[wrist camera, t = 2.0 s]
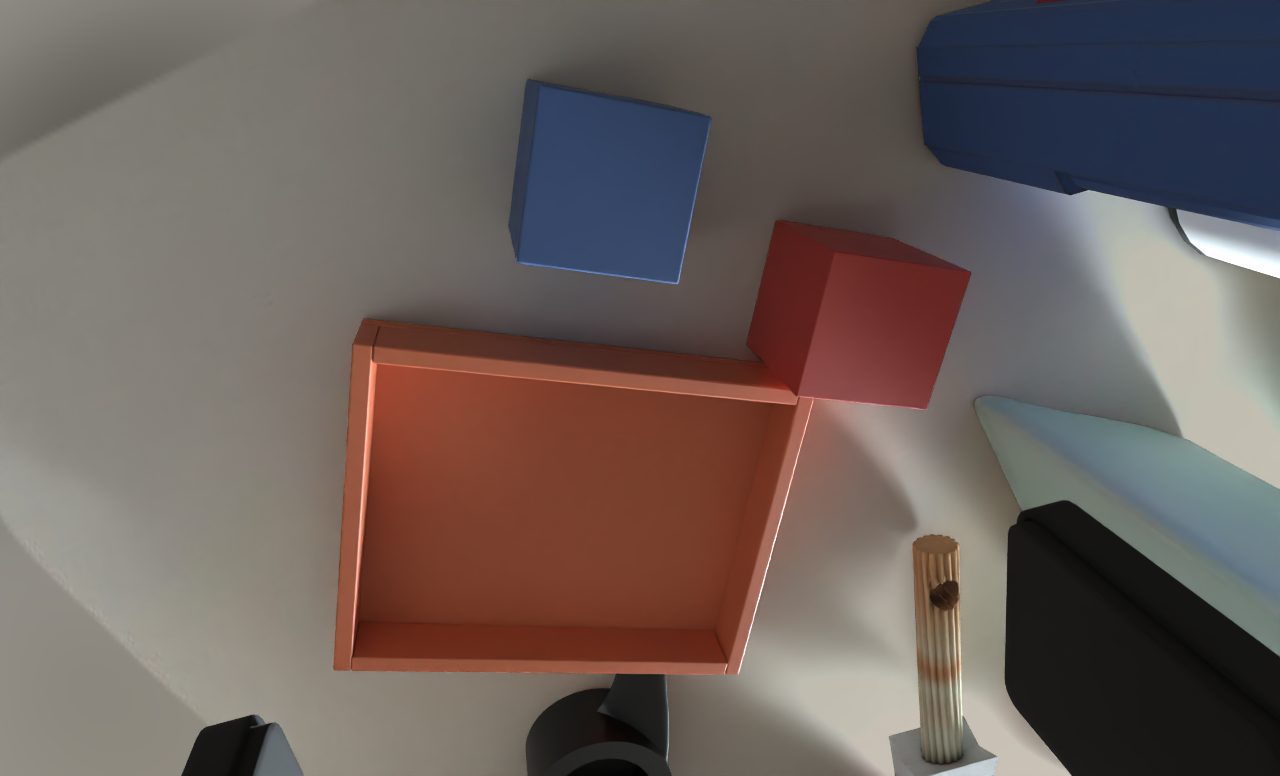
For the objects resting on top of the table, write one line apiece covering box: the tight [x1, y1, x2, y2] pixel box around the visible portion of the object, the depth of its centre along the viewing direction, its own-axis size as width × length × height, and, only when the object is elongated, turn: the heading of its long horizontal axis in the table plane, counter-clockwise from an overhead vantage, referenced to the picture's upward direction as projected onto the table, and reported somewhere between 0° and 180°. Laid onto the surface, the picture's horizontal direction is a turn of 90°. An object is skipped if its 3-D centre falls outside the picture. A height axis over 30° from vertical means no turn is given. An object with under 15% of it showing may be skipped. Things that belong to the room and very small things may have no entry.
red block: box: [747, 220, 971, 410], centre depth 27 cm, size 5×5×5 cm
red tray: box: [333, 319, 814, 675], centre depth 29 cm, size 15×12×3 cm
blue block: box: [508, 79, 711, 284], centre depth 24 cm, size 5×5×5 cm
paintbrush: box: [889, 534, 997, 776], centre depth 36 cm, size 4×3×20 cm
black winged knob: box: [526, 673, 671, 776], centre depth 34 cm, size 8×10×3 cm
